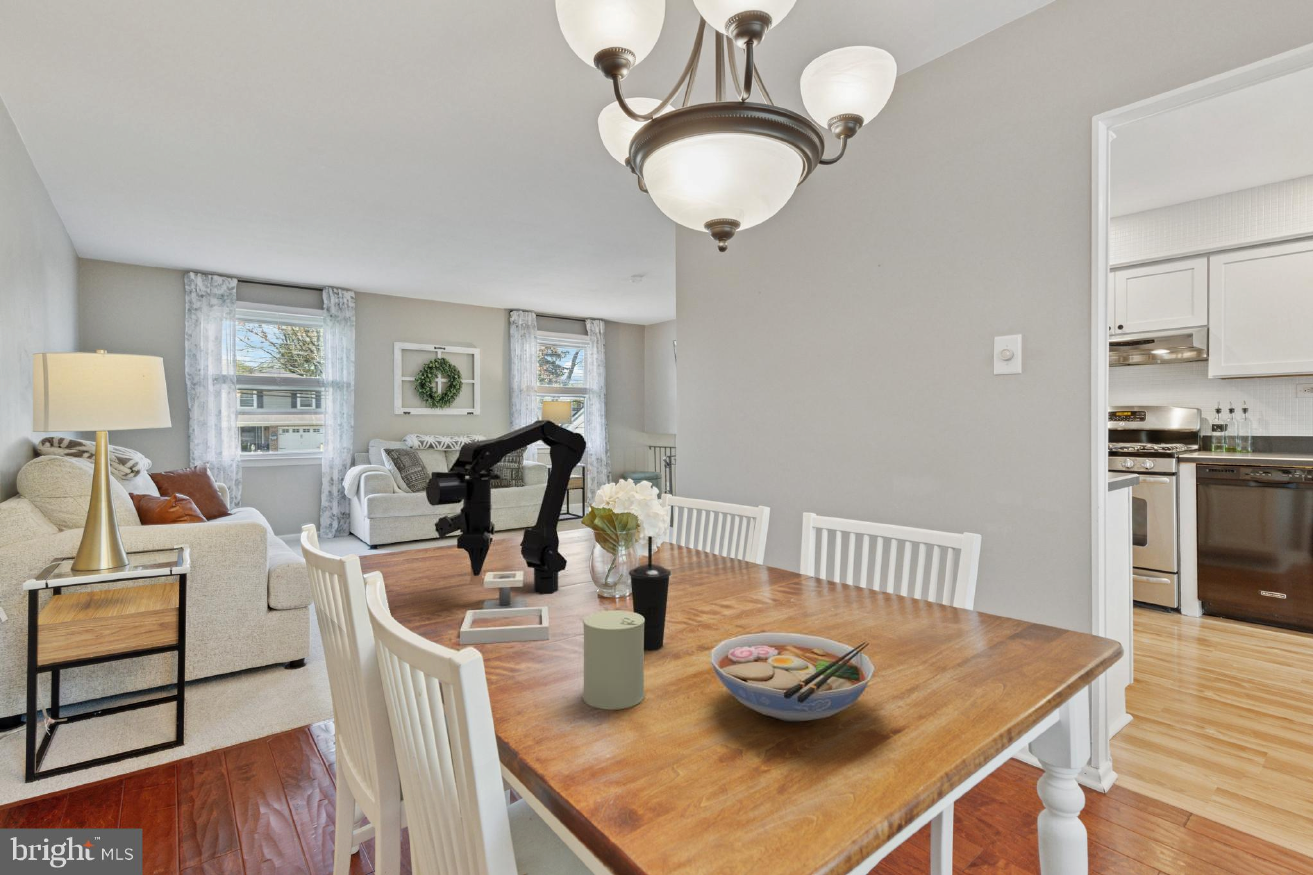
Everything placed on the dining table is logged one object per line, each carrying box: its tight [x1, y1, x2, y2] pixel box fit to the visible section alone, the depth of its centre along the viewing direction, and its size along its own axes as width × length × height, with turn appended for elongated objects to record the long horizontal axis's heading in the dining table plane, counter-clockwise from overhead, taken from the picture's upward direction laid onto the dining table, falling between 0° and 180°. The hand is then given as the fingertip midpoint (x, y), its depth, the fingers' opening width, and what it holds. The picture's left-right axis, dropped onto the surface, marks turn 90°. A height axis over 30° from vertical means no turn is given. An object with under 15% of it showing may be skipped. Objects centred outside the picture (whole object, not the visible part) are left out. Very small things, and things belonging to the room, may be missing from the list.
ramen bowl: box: [710, 632, 876, 722], centre depth 89 cm, size 25×23×8 cm
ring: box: [469, 565, 525, 589], centre depth 136 cm, size 8×11×5 cm
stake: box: [481, 576, 527, 610], centre depth 136 cm, size 9×9×7 cm
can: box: [582, 609, 646, 711], centre depth 94 cm, size 9×9×12 cm
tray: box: [459, 606, 550, 646], centre depth 123 cm, size 13×16×2 cm
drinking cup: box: [628, 535, 672, 651], centre depth 115 cm, size 8×8×20 cm
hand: (477, 574), depth 135 cm, fingers closed on ring, 2 cm apart
